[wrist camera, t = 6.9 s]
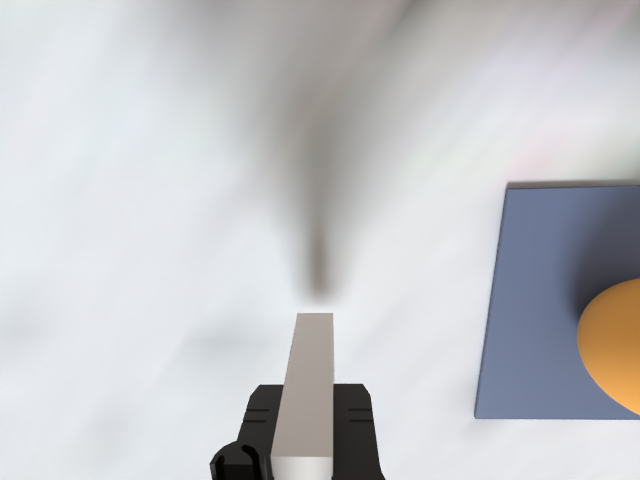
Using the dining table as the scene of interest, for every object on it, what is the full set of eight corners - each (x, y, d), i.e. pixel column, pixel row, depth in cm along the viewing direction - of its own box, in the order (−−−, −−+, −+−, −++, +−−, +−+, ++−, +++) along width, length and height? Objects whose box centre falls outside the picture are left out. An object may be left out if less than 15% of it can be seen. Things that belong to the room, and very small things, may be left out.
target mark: (473, 415, 18) (475, 418, 18) (506, 189, 14) (508, 190, 14) (713, 416, 18) (718, 419, 17) (815, 181, 14) (822, 182, 13)
